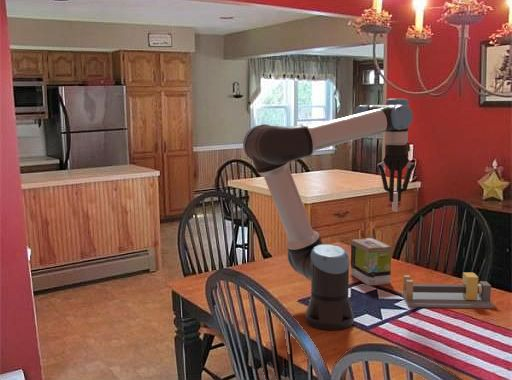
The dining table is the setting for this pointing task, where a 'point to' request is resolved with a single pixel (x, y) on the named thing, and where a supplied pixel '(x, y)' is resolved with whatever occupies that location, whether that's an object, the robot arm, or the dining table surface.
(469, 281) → the sleeve
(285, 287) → the dining table surface
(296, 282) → the dining table surface
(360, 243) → the tea box
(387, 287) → the dining table surface
